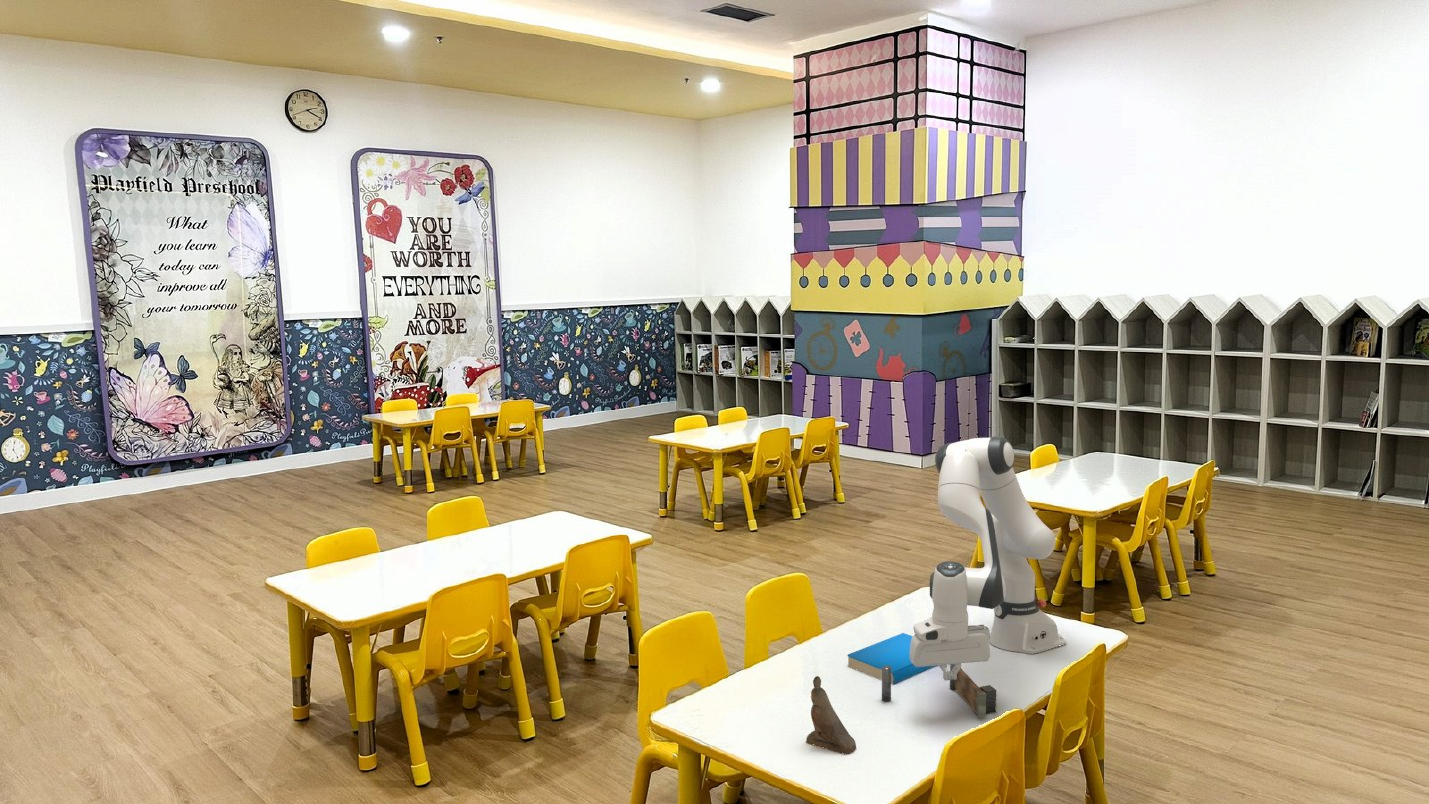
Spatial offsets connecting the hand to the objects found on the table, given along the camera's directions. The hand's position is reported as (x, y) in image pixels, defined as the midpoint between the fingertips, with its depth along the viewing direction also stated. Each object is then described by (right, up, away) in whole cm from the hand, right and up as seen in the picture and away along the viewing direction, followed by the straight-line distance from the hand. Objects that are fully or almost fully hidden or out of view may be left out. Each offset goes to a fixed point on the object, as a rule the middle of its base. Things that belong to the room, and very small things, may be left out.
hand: (949, 679), depth 245 cm
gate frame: (-2, -8, +5) cm, 10 cm away
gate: (+6, -7, +5) cm, 10 cm away
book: (-7, -5, +32) cm, 33 cm away
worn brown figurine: (-32, -12, -15) cm, 37 cm away
